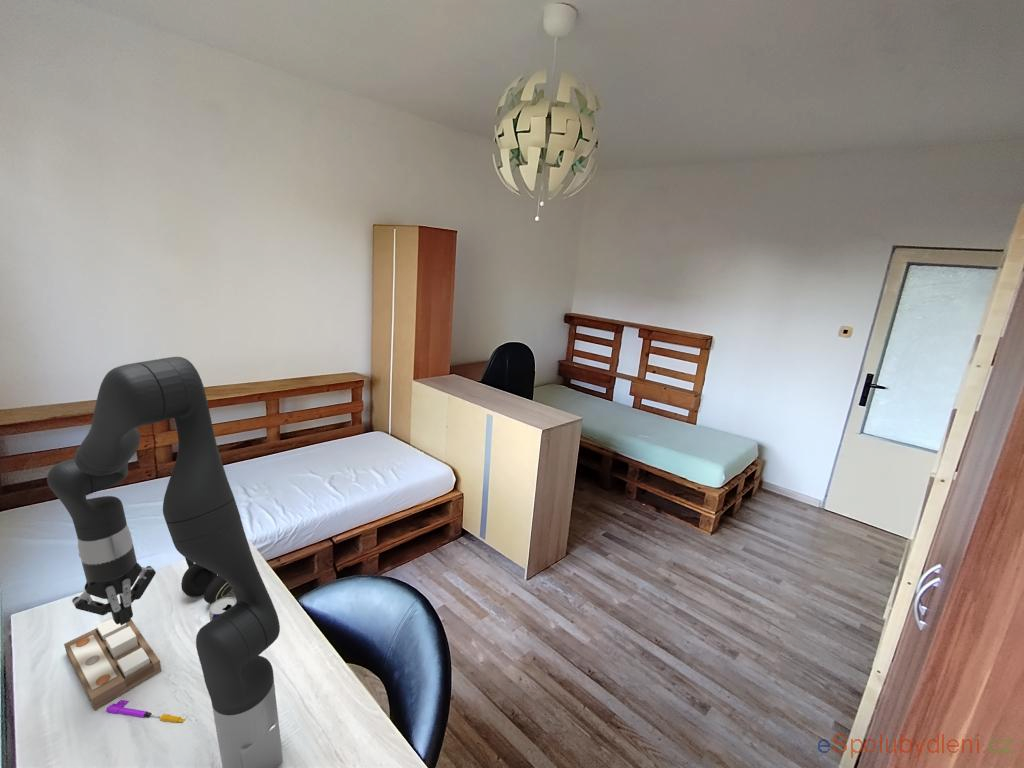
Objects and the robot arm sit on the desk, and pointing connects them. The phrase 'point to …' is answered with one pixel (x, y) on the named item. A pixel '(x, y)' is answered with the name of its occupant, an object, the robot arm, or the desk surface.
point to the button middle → (121, 642)
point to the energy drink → (220, 606)
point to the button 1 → (109, 629)
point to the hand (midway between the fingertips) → (124, 621)
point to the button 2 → (133, 662)
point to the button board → (107, 666)
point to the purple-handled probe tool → (139, 712)
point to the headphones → (204, 583)
